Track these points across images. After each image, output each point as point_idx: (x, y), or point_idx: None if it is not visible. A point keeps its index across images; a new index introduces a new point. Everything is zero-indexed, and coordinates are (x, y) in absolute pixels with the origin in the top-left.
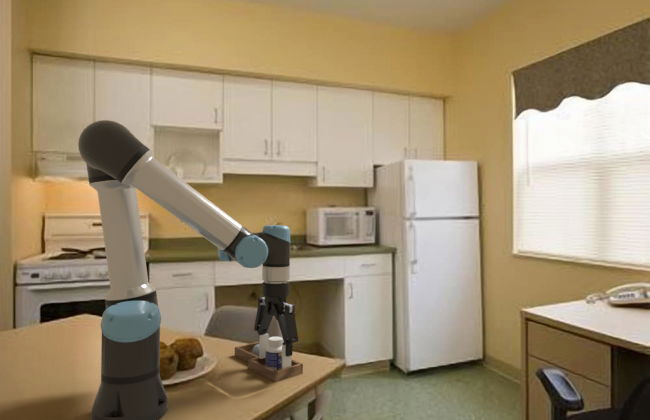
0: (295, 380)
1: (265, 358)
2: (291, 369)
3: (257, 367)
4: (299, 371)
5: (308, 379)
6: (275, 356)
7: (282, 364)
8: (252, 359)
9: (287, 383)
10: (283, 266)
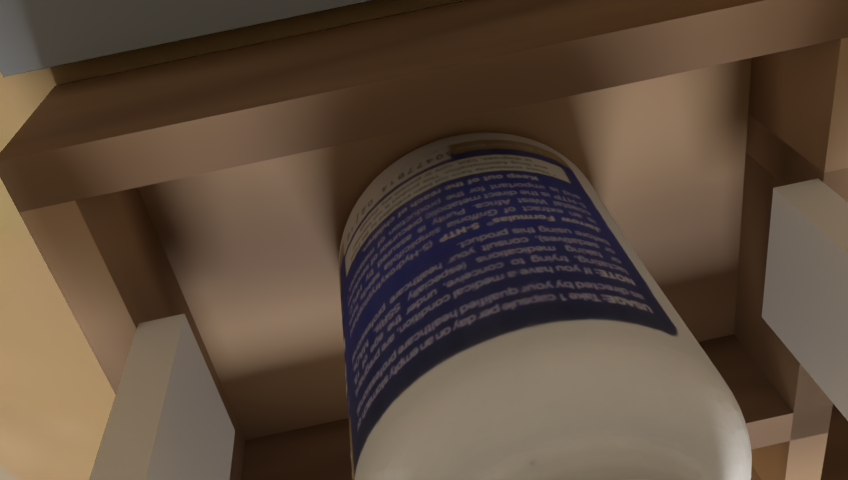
0: None
1: None
2: None
3: (558, 21)
4: None
5: (71, 462)
6: (366, 379)
7: (153, 364)
8: (842, 49)
9: (24, 235)
10: None
